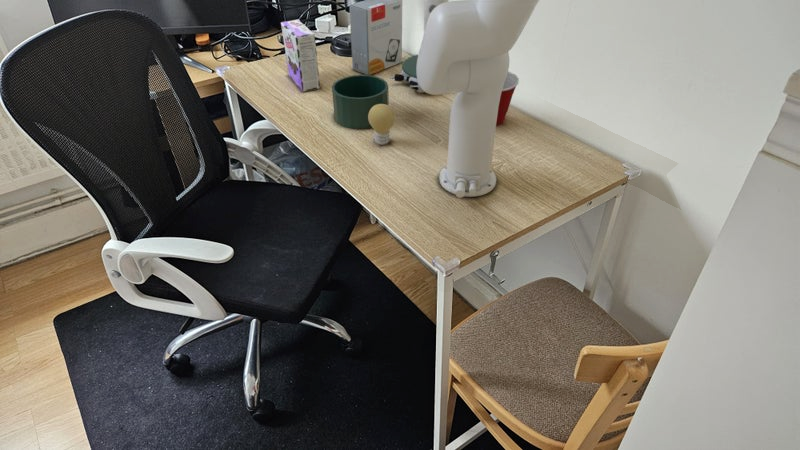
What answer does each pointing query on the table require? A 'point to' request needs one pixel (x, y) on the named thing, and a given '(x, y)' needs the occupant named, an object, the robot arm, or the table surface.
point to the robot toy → (408, 81)
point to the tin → (358, 99)
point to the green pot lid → (410, 66)
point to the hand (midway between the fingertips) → (433, 63)
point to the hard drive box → (376, 35)
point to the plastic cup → (506, 96)
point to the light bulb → (381, 122)
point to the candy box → (301, 54)
